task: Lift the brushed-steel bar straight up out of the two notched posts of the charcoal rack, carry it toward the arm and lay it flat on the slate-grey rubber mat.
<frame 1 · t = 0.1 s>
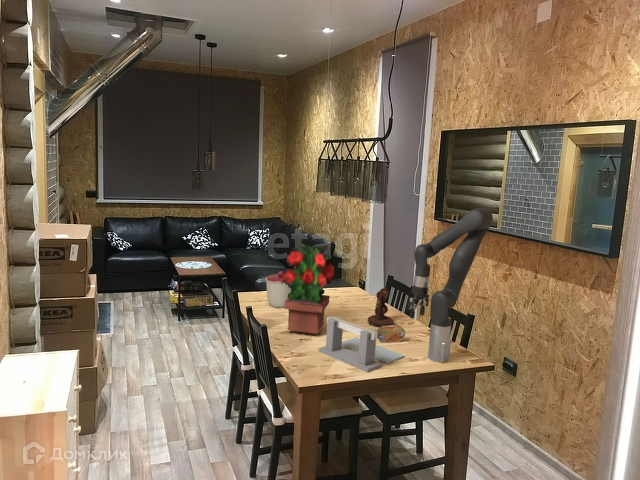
hand: (416, 316, 252), 17 cm above the table, tool pointing down, fingers open, 8 cm apart
brown statuette: (380, 324, 291), on the table
steel bar: (351, 330, 237), point 13 cm above the table, touching rack
mat: (370, 350, 250), on the table
potted plant: (305, 331, 273), on the table
canister: (279, 305, 314), on the table
rack: (349, 358, 239), on the table
tin: (389, 341, 265), on the table
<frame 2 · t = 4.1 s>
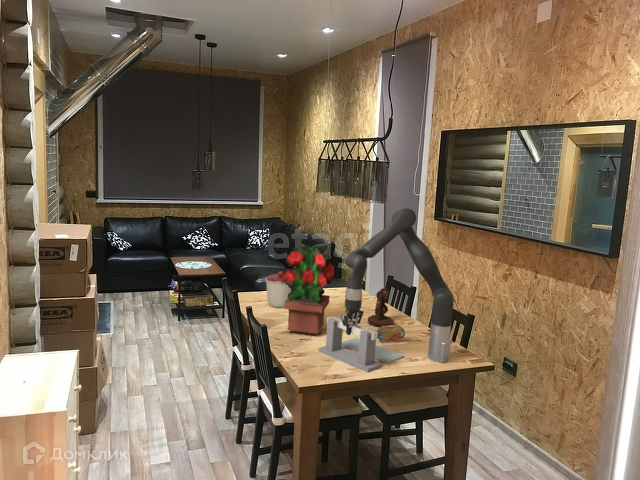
hand: (351, 333, 237), 12 cm above the table, tool pointing down, fingers closed on steel bar, 3 cm apart
steel bar: (351, 330, 237), point 14 cm above the table, touching gripper, rack
everything else where it was.
when the fingers open (2 cm above the table, at t = 11.7 s): steel bar drops 3 cm, resting on mat.
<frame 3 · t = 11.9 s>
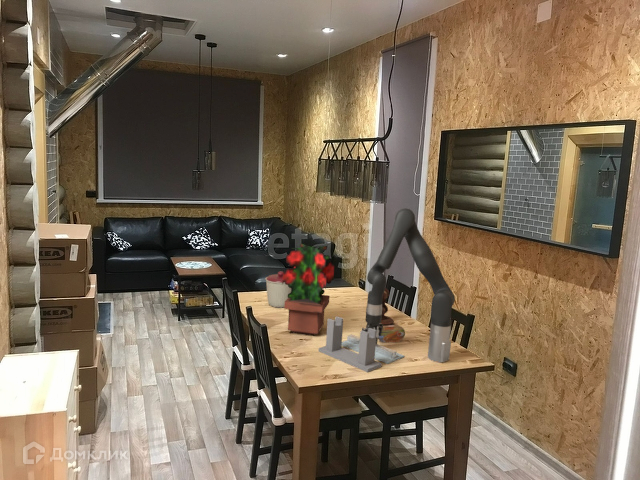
hand: (371, 345, 250), 2 cm above the table, tool pointing down, fingers open, 5 cm apart
steel bar: (370, 349, 250), point 1 cm above the table, touching mat
everything else where it was.
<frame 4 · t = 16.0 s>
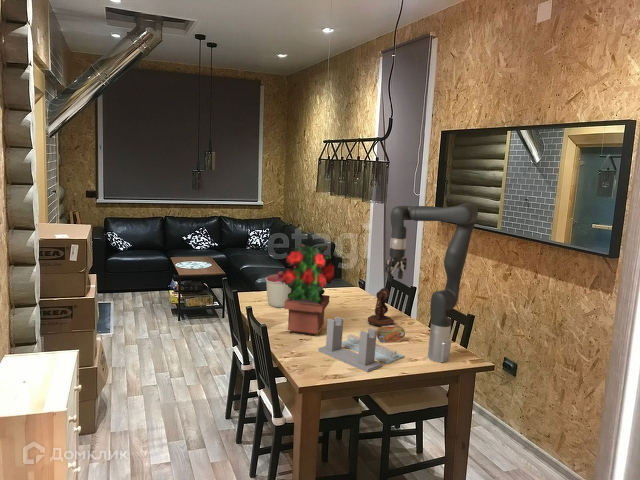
hand: (394, 279, 252), 34 cm above the table, tool pointing down, fingers open, 8 cm apart
nothing on the table moved.
at the end: steel bar inside the target area on the mat (0.1 cm from its centre), point 0.8 cm above the mat's base; steel bar tilted 0°; the gripper is holding nothing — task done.
